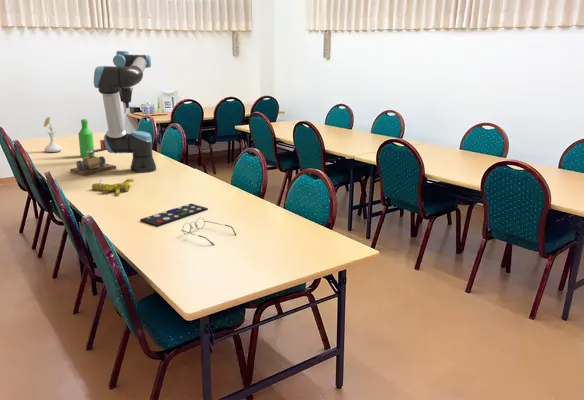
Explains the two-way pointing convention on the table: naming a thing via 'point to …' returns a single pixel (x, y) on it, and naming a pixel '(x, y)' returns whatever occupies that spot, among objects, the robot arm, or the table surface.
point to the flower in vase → (52, 146)
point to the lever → (98, 149)
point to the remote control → (173, 215)
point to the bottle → (85, 139)
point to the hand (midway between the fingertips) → (126, 112)
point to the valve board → (93, 171)
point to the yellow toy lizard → (113, 186)
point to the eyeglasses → (202, 227)
